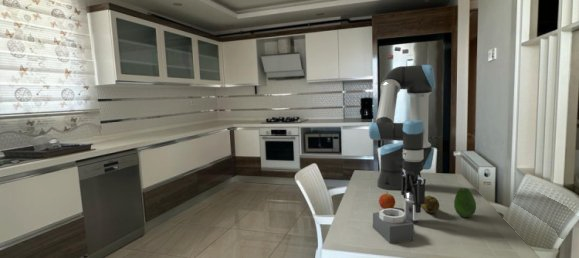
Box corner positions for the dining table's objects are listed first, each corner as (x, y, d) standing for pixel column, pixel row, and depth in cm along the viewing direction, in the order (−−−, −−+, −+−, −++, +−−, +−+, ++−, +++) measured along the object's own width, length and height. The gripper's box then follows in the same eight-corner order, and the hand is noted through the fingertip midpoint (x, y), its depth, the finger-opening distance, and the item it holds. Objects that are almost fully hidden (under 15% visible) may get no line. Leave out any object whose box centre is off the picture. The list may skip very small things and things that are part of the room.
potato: (438, 208, 139) (439, 190, 138) (439, 219, 127) (439, 200, 127) (418, 206, 142) (418, 188, 142) (417, 216, 131) (417, 197, 130)
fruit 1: (390, 213, 135) (391, 195, 134) (376, 209, 140) (375, 192, 139) (397, 208, 140) (397, 191, 139) (383, 205, 145) (383, 188, 144)
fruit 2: (477, 221, 124) (478, 192, 123) (455, 219, 127) (456, 190, 125) (473, 214, 131) (474, 186, 130) (452, 212, 134) (453, 184, 133)
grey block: (372, 227, 121) (372, 207, 120) (394, 225, 123) (394, 205, 122) (389, 243, 109) (389, 221, 108) (413, 240, 110) (413, 218, 109)
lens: (402, 219, 128) (402, 190, 127) (414, 218, 129) (414, 189, 128) (409, 225, 123) (410, 194, 121) (422, 223, 124) (422, 193, 122)
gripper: (392, 156, 131) (392, 209, 134) (417, 165, 113) (417, 227, 116) (408, 154, 133) (408, 208, 135) (436, 164, 115) (435, 225, 117)
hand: (412, 216), depth 126 cm, fingers closed on lens, 5 cm apart
